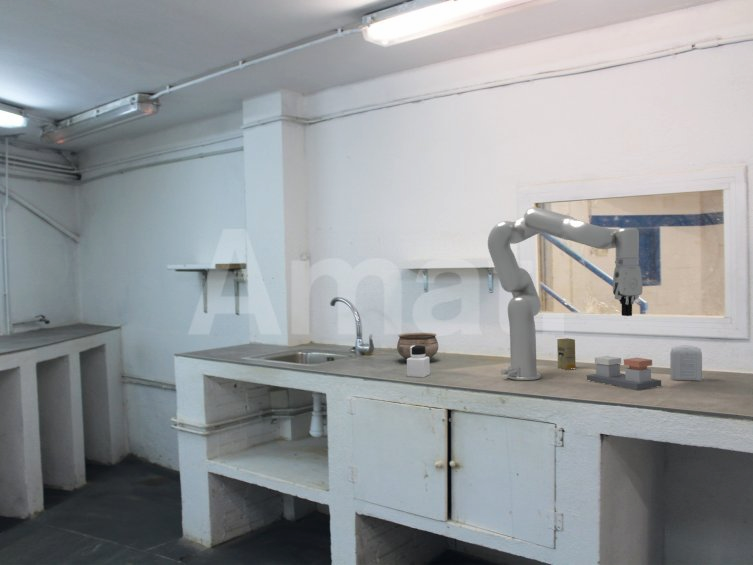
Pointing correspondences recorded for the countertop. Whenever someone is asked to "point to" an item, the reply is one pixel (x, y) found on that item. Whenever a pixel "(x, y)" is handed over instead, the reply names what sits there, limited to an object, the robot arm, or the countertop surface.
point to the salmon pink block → (638, 363)
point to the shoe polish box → (566, 353)
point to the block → (624, 377)
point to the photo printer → (686, 363)
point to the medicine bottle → (418, 362)
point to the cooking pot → (417, 343)
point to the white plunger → (607, 360)
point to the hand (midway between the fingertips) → (626, 315)
